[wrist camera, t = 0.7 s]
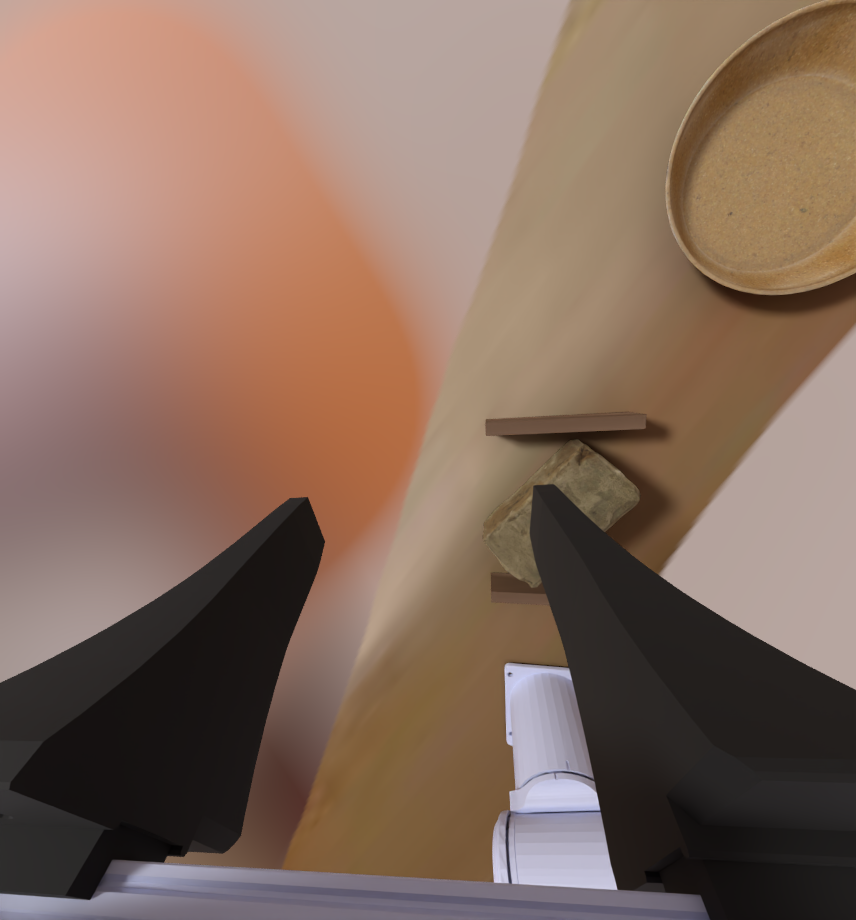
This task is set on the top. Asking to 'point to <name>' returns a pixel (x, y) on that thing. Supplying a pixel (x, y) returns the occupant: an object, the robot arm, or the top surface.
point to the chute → (506, 584)
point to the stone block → (581, 481)
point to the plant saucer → (773, 159)
